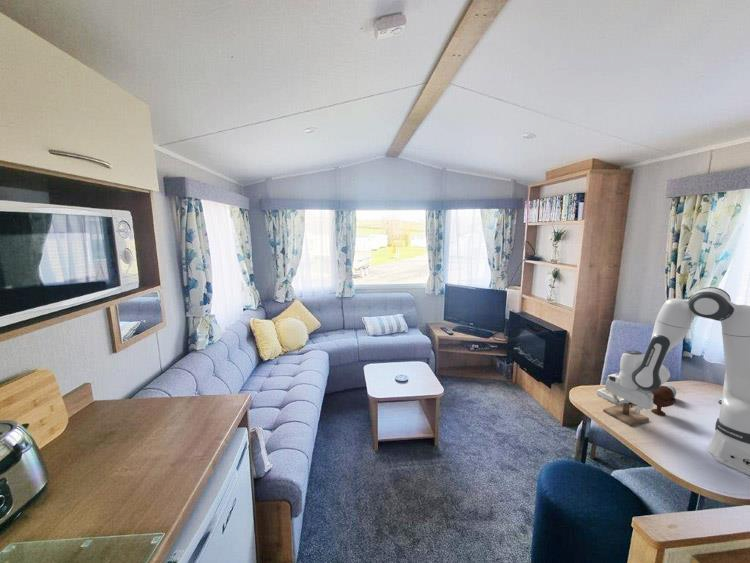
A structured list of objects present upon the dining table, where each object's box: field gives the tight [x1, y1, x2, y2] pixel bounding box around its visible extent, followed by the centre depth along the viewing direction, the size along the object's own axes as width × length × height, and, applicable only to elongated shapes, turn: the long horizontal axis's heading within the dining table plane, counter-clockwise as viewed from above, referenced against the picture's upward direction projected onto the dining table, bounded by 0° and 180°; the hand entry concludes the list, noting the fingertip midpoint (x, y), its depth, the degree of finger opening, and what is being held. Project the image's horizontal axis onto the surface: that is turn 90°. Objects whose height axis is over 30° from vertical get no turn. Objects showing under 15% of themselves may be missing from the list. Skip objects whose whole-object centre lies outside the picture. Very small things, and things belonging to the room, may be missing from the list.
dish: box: [596, 387, 632, 406], centre depth 170 cm, size 12×12×3 cm
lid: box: [602, 403, 650, 426], centre depth 154 cm, size 13×13×6 cm
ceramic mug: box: [661, 383, 677, 399], centre depth 170 cm, size 11×8×8 cm
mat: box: [603, 411, 649, 427], centre depth 154 cm, size 13×13×1 cm
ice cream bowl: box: [650, 386, 677, 417], centre depth 155 cm, size 11×11×15 cm
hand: (626, 407), depth 154 cm, fingers open, 8 cm apart
